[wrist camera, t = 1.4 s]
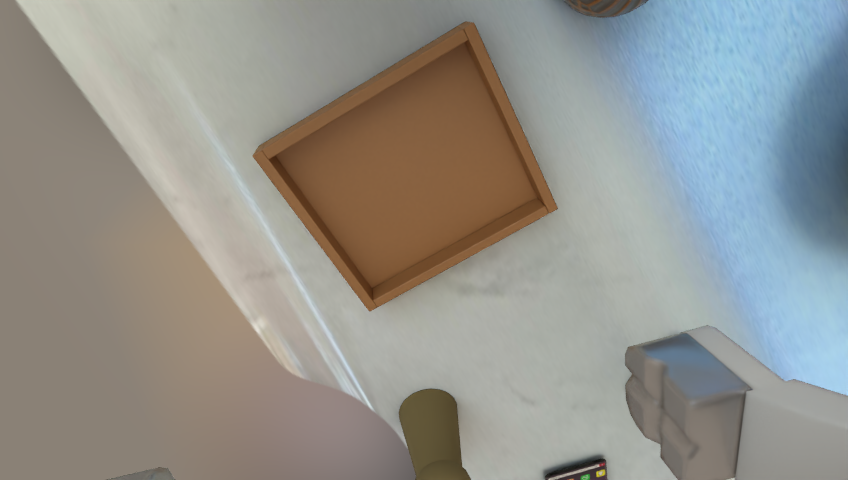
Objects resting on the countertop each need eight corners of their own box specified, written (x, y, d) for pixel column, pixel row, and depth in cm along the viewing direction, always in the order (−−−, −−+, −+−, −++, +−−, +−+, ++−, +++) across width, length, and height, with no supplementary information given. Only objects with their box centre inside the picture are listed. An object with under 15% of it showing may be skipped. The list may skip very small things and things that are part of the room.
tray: (465, 20, 35) (473, 22, 32) (546, 197, 41) (558, 208, 39) (258, 146, 36) (251, 155, 34) (368, 295, 43) (369, 312, 41)
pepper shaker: (387, 408, 49) (396, 508, 39) (438, 379, 48) (460, 474, 39) (418, 441, 52) (433, 544, 42) (467, 415, 51) (495, 512, 41)
